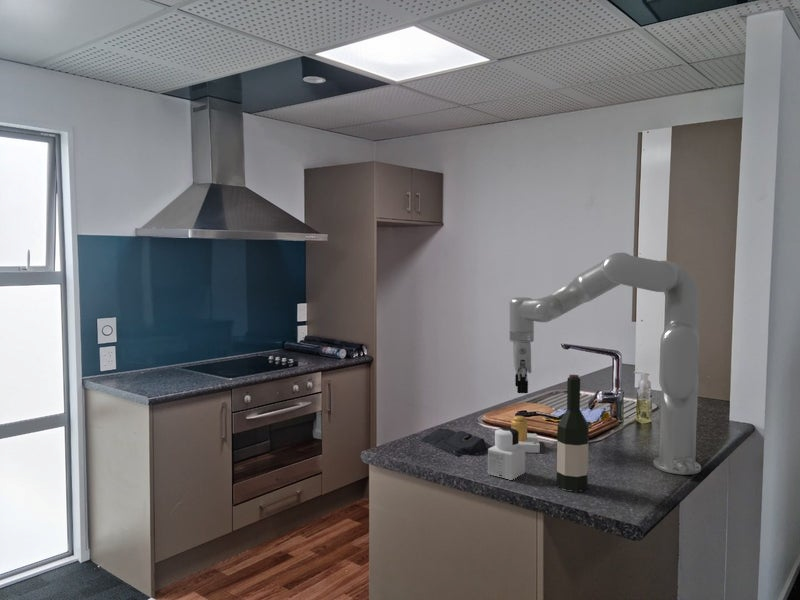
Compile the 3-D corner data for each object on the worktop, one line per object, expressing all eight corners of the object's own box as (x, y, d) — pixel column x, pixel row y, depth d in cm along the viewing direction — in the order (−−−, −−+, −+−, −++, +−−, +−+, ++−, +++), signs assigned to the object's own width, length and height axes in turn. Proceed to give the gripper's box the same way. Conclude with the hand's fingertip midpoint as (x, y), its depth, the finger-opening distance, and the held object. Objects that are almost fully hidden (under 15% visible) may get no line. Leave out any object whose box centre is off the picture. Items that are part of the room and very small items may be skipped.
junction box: (539, 452, 194) (539, 434, 193) (500, 451, 195) (500, 432, 195) (534, 435, 212) (534, 418, 212) (498, 434, 214) (498, 417, 213)
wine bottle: (582, 480, 171) (584, 372, 168) (592, 492, 162) (595, 378, 160) (552, 480, 170) (553, 372, 168) (561, 492, 162) (562, 378, 160)
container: (501, 467, 181) (501, 423, 180) (525, 473, 176) (525, 428, 175) (487, 475, 175) (487, 430, 174) (511, 481, 170) (512, 435, 169)
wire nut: (527, 441, 197) (527, 419, 197) (511, 440, 198) (511, 419, 198) (526, 436, 202) (526, 415, 202) (510, 436, 203) (510, 414, 202)
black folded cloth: (451, 434, 216) (451, 420, 215) (496, 450, 198) (496, 436, 197) (416, 442, 207) (416, 428, 206) (459, 460, 189) (460, 445, 189)
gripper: (536, 340, 189) (536, 396, 190) (531, 332, 206) (531, 384, 207) (511, 340, 190) (511, 395, 191) (508, 332, 207) (508, 383, 208)
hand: (521, 389), depth 199 cm, fingers open, 9 cm apart
